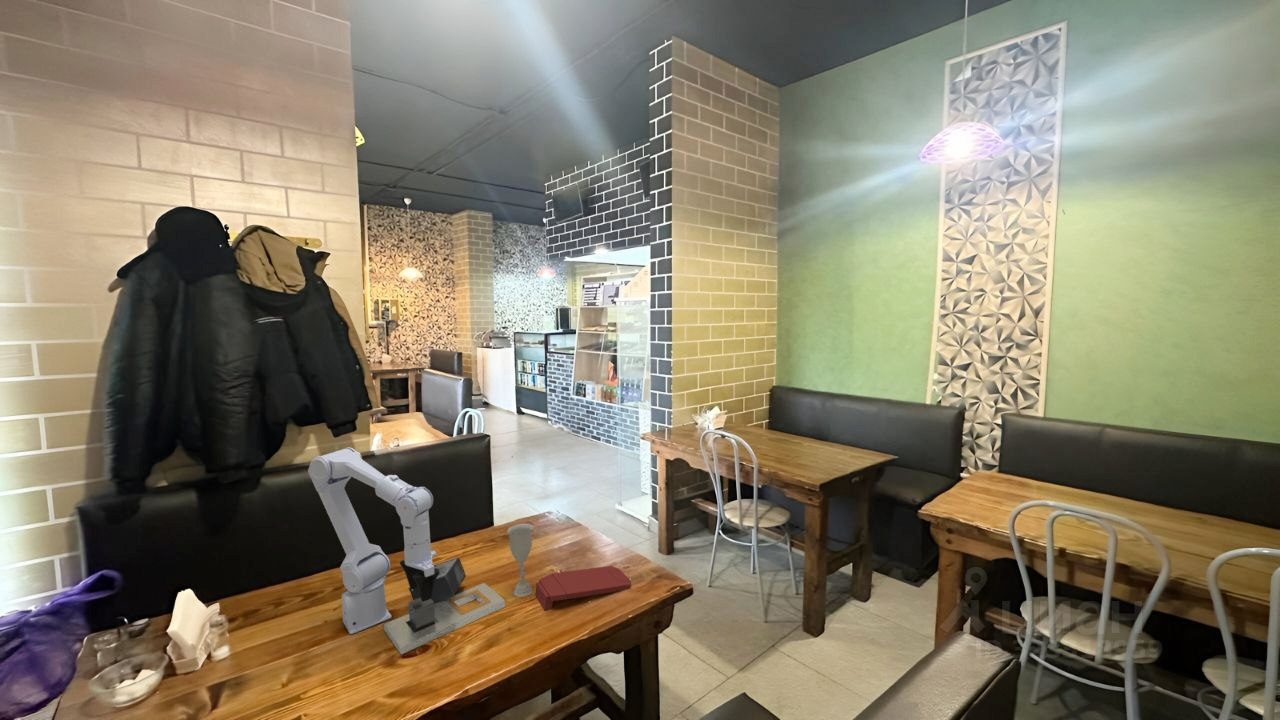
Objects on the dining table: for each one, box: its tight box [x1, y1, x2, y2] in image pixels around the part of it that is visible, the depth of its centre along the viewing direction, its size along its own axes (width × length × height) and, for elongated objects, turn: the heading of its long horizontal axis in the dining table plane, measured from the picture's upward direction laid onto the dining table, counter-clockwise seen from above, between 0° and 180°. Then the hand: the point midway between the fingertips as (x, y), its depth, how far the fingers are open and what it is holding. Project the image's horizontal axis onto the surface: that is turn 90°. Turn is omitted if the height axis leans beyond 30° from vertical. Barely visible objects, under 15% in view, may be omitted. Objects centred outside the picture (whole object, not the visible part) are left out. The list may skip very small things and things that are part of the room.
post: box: [407, 598, 435, 633], centre depth 120 cm, size 4×4×7 cm
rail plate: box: [383, 582, 506, 655], centre depth 125 cm, size 26×12×2 cm, turn 133°
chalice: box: [507, 523, 534, 598], centre depth 135 cm, size 7×7×18 cm
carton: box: [534, 565, 631, 612], centre depth 137 cm, size 12×5×25 cm
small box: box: [408, 557, 467, 603], centre depth 134 cm, size 11×6×10 cm
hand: (420, 593), depth 120 cm, fingers open, 7 cm apart
